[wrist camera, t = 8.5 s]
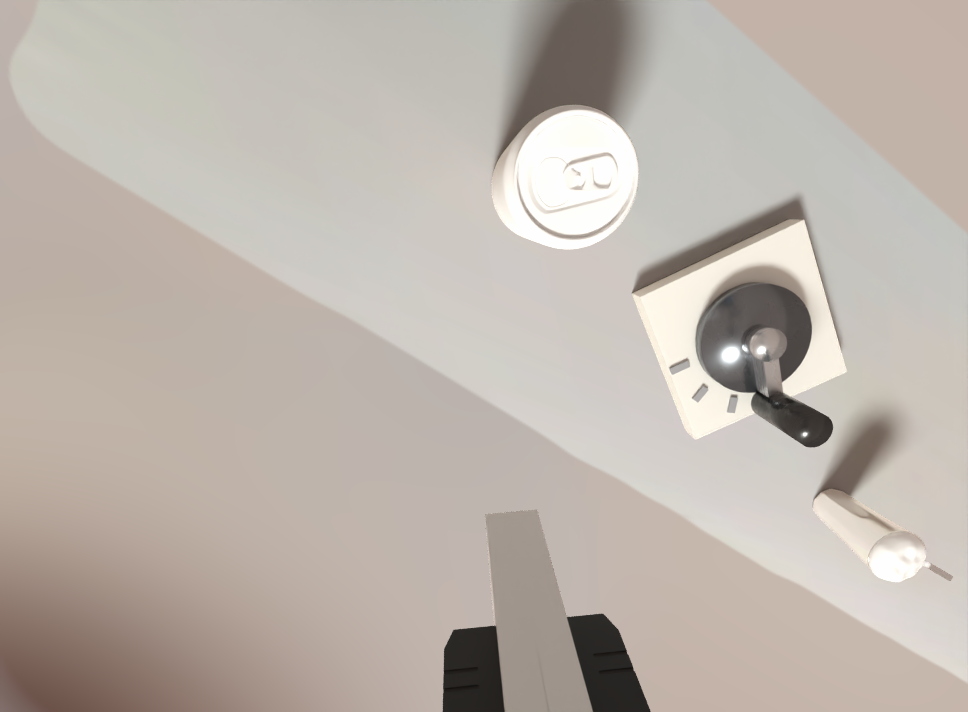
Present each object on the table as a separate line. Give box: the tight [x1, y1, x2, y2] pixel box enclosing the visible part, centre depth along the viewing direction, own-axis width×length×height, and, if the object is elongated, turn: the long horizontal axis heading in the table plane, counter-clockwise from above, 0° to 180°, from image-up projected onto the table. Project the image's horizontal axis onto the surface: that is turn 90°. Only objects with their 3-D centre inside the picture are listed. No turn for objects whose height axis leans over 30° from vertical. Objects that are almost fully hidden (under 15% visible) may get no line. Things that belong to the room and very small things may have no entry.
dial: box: [695, 282, 833, 447], centre depth 39 cm, size 11×9×7 cm
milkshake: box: [813, 488, 953, 582], centre depth 45 cm, size 4×5×10 cm
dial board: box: [632, 219, 847, 440], centre depth 43 cm, size 14×14×2 cm
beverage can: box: [491, 105, 639, 249], centre depth 35 cm, size 8×8×12 cm
